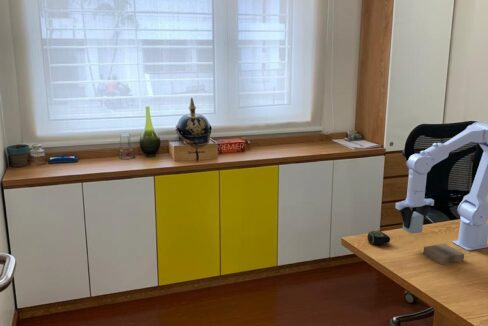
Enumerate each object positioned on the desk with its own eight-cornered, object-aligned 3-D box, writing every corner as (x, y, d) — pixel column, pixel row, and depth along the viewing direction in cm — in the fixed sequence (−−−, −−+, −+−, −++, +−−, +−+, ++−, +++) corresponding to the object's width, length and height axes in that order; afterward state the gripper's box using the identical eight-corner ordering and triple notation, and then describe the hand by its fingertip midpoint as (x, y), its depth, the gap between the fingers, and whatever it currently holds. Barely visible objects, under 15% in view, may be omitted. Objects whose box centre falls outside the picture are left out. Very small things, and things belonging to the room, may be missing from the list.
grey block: (413, 227, 173) (414, 211, 172) (422, 232, 169) (423, 215, 168) (402, 229, 172) (403, 212, 170) (411, 233, 168) (412, 217, 166)
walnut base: (443, 251, 171) (444, 243, 171) (463, 262, 163) (464, 253, 163) (422, 255, 168) (423, 246, 168) (441, 266, 160) (442, 257, 159)
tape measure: (390, 245, 175) (391, 235, 174) (373, 247, 173) (374, 237, 172) (379, 238, 182) (380, 228, 181) (363, 240, 180) (364, 230, 179)
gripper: (425, 184, 173) (421, 220, 176) (391, 187, 168) (388, 225, 171) (439, 189, 166) (435, 227, 170) (404, 193, 162) (400, 232, 165)
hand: (412, 226), depth 170 cm, fingers closed on grey block, 5 cm apart
